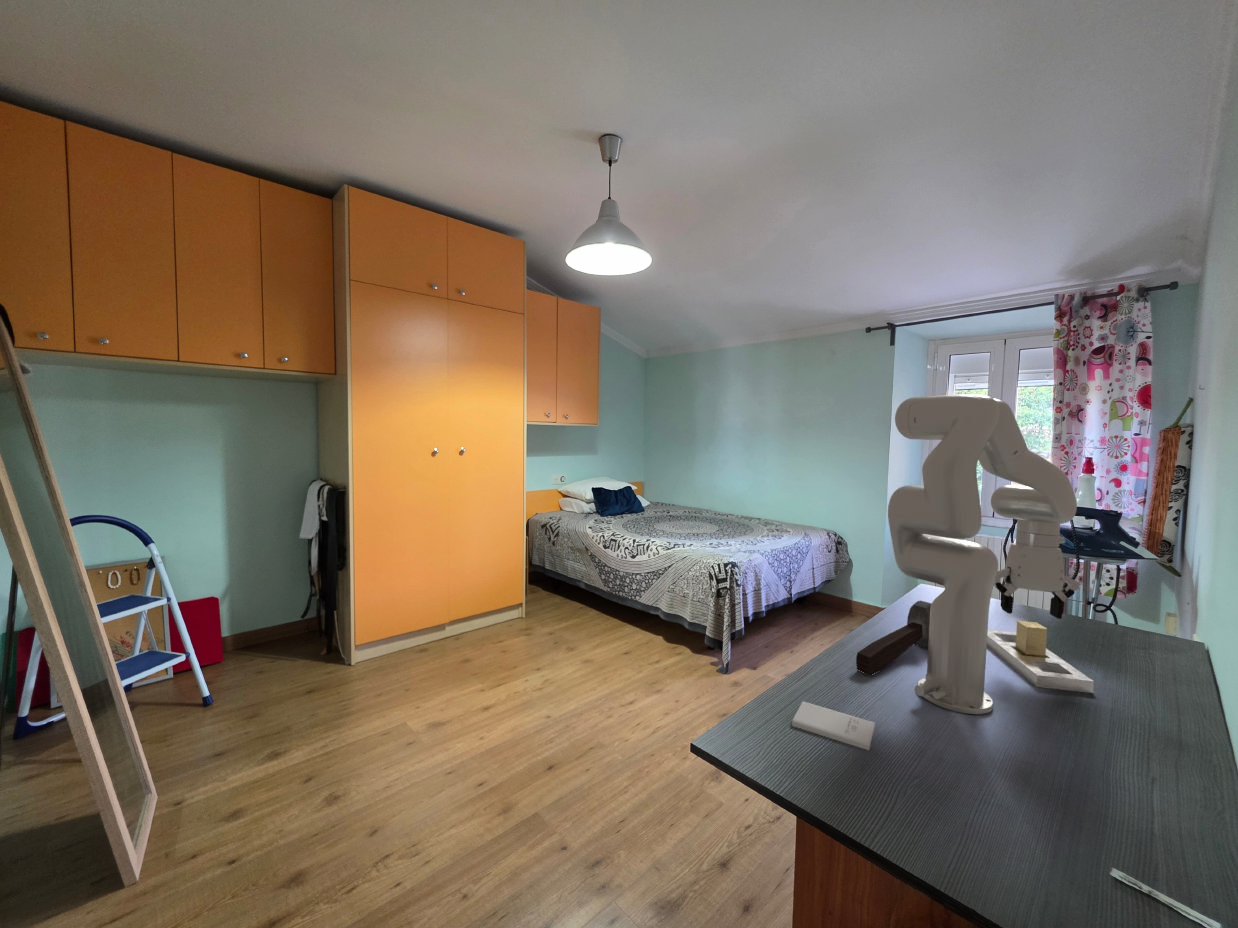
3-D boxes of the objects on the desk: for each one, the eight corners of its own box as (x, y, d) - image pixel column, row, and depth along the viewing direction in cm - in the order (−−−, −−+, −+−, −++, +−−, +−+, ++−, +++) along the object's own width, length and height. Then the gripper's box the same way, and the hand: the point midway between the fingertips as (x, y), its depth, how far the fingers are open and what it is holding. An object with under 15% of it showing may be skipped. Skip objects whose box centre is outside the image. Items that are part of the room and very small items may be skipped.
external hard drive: (802, 708, 97) (875, 729, 90) (791, 728, 90) (869, 753, 83) (803, 700, 96) (875, 720, 90) (792, 720, 90) (869, 744, 83)
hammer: (874, 694, 108) (939, 645, 125) (872, 645, 107) (939, 602, 123) (852, 685, 112) (919, 639, 129) (851, 637, 111) (918, 597, 127)
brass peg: (1044, 667, 114) (1047, 628, 114) (1024, 665, 115) (1026, 627, 115) (1034, 659, 118) (1036, 622, 118) (1014, 658, 119) (1017, 620, 119)
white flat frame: (1093, 692, 103) (1094, 681, 103) (1036, 686, 105) (1037, 674, 105) (1023, 642, 128) (1023, 632, 128) (978, 638, 131) (979, 628, 130)
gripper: (1070, 540, 117) (1064, 613, 118) (985, 534, 121) (980, 604, 121) (1093, 546, 109) (1086, 624, 110) (1001, 540, 113) (996, 615, 114)
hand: (1030, 614), depth 116 cm, fingers open, 9 cm apart
